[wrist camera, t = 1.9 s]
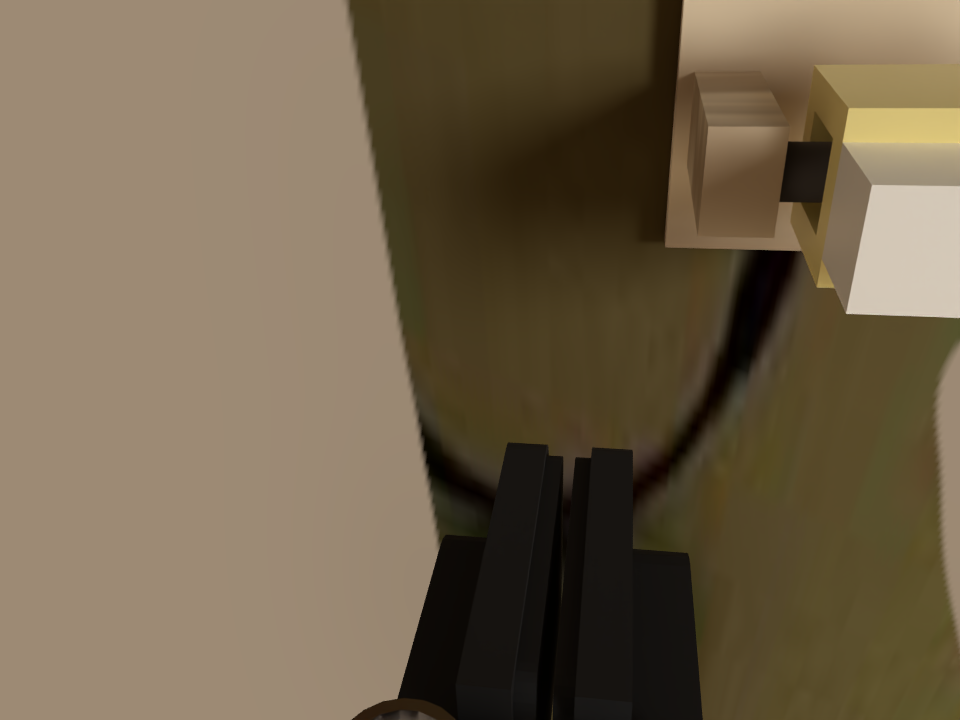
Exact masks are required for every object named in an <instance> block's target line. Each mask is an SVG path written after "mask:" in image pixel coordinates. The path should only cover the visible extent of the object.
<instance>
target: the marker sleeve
mask: <svg viewBox="0 0 960 720" xmlns="http://www.w3.org/2000/svg"><path fill="white" fill-rule="evenodd" d="M802 142H832V148H831V153H830V159H829V165H828V171H827V177H826V182H825V188H824V194H823V200H822V203H800V202H793V206H792V212H791V219H790V222H791V225H792V227H793V230H794V232H795V235H796V237H797V240H798V242H799V245H800V247H801V250H802V252H803V255H804V257H805V259H806V262H807V264H808V267H809V269H810V272H811V274H812V277H813V279H814V282H815V284H816V287H820V288H835V290H836V292H837V294H838V297H839V299H840V301H841V303H842V306H843V308H844V310H845V312H846V314H869V315H897V316H925V317H952V318H960V64H884V65H814V70H813V76H812V83H811V89H810V95H809V102H808V108H807V115H806V121H805V128H804V134H803V141H802Z"/></svg>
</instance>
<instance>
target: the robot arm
mask: <svg viewBox="0 0 960 720" xmlns="http://www.w3.org/2000/svg"><path fill="white" fill-rule="evenodd" d="M562 520H563V456H549V451H548V445H541V444H524V443H508V444H507V447H506V452H505V456H504V461H503V466H502V470H501V475H500V480H499V484H498V489H497V494H496V498H495V503H494V508H493V512H492V517H491V521H490V526H489V531H488V535H487V538H482V537H469V536H456V535H445V537H444V538H443V540H442V543H441V546H440V549H439V552H438V556H437V560H436V563H435V567H434V570H433V574H432V577H431V581H430V585H429V588H428V592H427V595H426V599H425V603H424V606H423V610H422V613H421V617H420V620H419V624H418V628H417V631H416V634H415V638H414V642H413V645H412V649H411V653H410V656H409V660H408V663H407V667H406V670H405V674H404V677H403V681H402V684H401V688H400V692H399V695H398V699H395V700H389V701H383V702H381V703H378V704H376V705H374V706H372V707H369V708H367V709H365V710H363V711H362V712H361V713H359V714H358V715H357V716H356V717H355V718H353V719H352V720H551V715H552V705H553V720H703V718H702V706H701V693H700V681H699V669H698V656H697V644H696V632H695V619H694V607H693V595H692V582H691V570H690V561H689V556H688V553H679V552H666V551H653V550H639V549H633V451H632V450H625V449H609V448H592V456H591V458H579V457H576V458H575V468H574V479H573V489H572V499H571V510H570V520H569V531H568V541H567V552H566V562H565V572H564V583H563V593H562V604H561V591H562ZM553 694H554V695H553Z"/></svg>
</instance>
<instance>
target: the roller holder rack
mask: <svg viewBox="0 0 960 720" xmlns="http://www.w3.org/2000/svg"><path fill="white" fill-rule="evenodd" d="M884 64H960V0H683V1H682V15H681V28H680V41H679V54H678V67H677V80H676V94H675V107H674V120H673V133H672V146H671V160H670V173H669V186H668V199H667V212H666V225H665V247H672V248H711V249H750V250H789V251H802V250H801V247H800V245H799V242H798V240H797V237H796V235H795V232H794V230H793V227H792V225H791V222H790V219H791V212H792V206H793V202H800V203H822V200H823V194H824V188H825V182H826V177H827V171H828V165H829V159H830V153H831V148H832V142H802V141H803V134H804V128H805V121H806V115H807V108H808V102H809V95H810V89H811V83H812V76H813V70H814V65H884Z"/></svg>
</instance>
